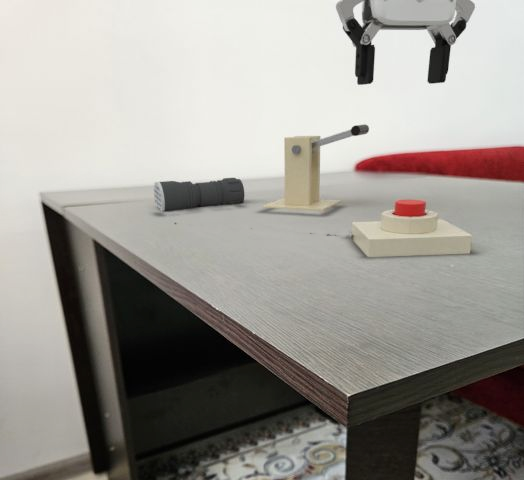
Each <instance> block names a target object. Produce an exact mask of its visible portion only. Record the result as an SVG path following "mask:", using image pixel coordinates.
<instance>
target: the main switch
mask: <svg viewBox="0 0 524 480" xmlns="http://www.w3.org/2000/svg"><path fill="white" fill-rule="evenodd" d="M369 131H370V127H369V125H368V124H365V123H364V124H358V125H353V126H352V127H351V129H347V130H345V131H341V132H338V133H334V134H332V135H328V136H325V137H323V138H320V139H319V140H316V141H313V142H312V154H313V153H314V150H313V148H316V147H320V148H321V147H323V146H325V145H329V144H333V143H335V142H338V141H342V140H345V139H348V138H351V137H356V136H363V135H367V134H368V133H369Z"/></svg>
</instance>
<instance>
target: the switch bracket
mask: <svg viewBox="0 0 524 480" xmlns="http://www.w3.org/2000/svg"><path fill="white" fill-rule="evenodd" d="M319 139H321V135H295V136H287V137H284V140H283V141H284V143H283V144H284V146H283V147H284V149H283V150H284V151H283V152H284V197H283V198H279V199H277V200H274V201H271V202H269V203H266V204H263V205H262V206H261V207H262V208H263V209H281V210H282V209H283V210H297V211H298V210H301V211H317V212H318V211H319V212H324V211H326V210H328V209H331V208H333V207H334V206H336V205H338V204H341V203H342V200H341V199H320V188H321V187H320V183H321V182H320V181H321V146H320V147H316V148H313V150H314V153H313V154H312V142H313V141H316V140H319Z"/></svg>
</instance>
